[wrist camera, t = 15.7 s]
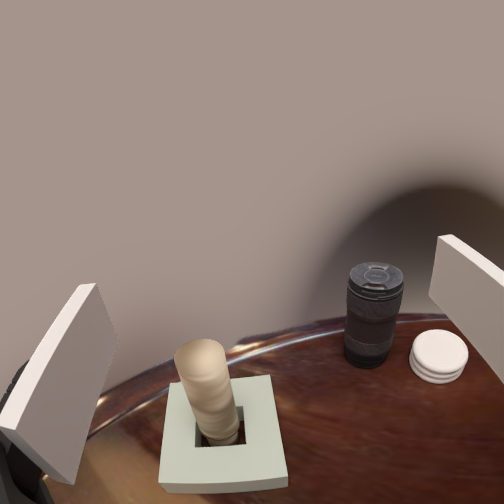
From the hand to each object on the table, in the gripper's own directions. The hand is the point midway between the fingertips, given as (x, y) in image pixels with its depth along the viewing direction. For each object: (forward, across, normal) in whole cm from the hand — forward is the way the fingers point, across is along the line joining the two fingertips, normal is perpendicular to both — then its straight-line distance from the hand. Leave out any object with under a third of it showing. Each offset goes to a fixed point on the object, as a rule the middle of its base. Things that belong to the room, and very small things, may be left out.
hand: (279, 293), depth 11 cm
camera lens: (+24, +16, -31) cm, 42 cm away
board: (+12, -7, -30) cm, 33 cm away
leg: (+12, -7, -30) cm, 33 cm away
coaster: (+18, +27, -31) cm, 45 cm away
